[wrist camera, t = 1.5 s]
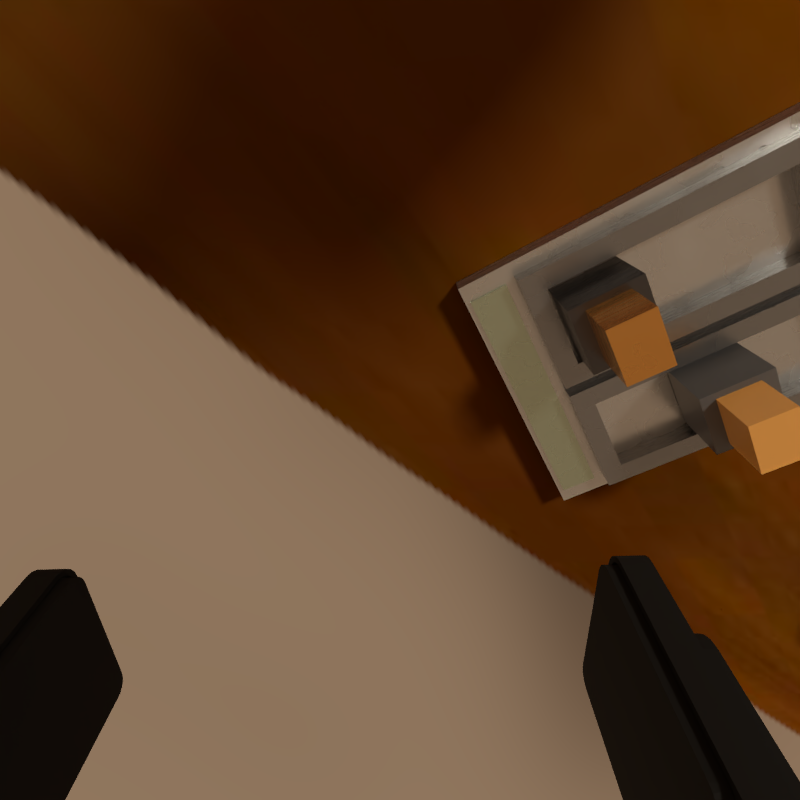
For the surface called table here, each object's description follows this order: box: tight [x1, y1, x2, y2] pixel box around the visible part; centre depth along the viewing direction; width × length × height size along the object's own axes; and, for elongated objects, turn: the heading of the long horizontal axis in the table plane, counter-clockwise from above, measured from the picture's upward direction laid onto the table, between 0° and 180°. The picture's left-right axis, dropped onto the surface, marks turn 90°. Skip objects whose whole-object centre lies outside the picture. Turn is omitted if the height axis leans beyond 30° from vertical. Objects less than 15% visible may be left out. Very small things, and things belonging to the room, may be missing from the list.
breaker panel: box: [456, 102, 800, 500], centre depth 28 cm, size 22×17×8 cm
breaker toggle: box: [668, 343, 800, 474], centre depth 29 cm, size 4×4×7 cm
